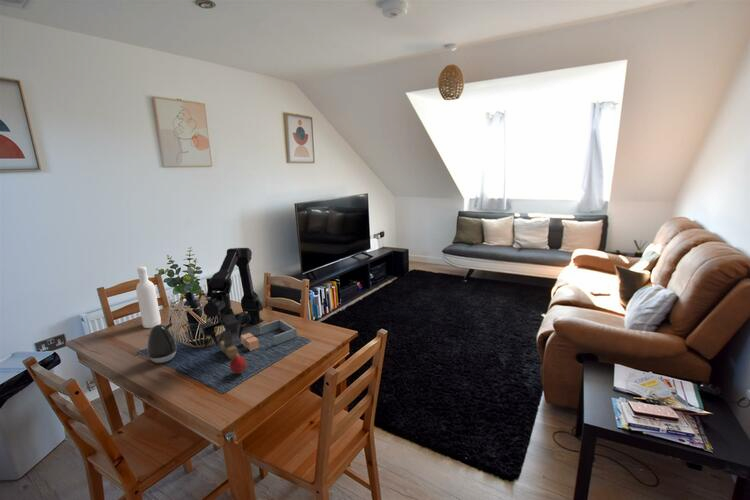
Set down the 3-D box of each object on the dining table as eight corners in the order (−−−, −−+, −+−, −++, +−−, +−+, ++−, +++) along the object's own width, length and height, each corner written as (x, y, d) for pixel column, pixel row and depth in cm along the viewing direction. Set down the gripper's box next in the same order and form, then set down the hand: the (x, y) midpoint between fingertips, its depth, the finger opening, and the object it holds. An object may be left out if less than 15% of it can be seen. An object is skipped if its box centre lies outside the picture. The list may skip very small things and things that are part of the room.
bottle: (139, 328, 174) (127, 269, 167) (149, 321, 181) (138, 265, 174) (155, 328, 174) (144, 269, 167) (164, 321, 181) (154, 264, 174)
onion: (237, 379, 130) (235, 359, 128) (227, 375, 133) (225, 355, 131) (250, 371, 134) (248, 352, 133) (241, 367, 137) (238, 348, 136)
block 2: (246, 348, 152) (245, 339, 151) (255, 344, 155) (254, 336, 154) (250, 351, 149) (249, 342, 149) (259, 348, 152) (258, 339, 151)
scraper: (221, 350, 151) (218, 328, 149) (228, 347, 153) (225, 326, 151) (231, 360, 143) (228, 337, 141) (238, 357, 145) (235, 334, 143)
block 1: (241, 344, 156) (240, 335, 155) (250, 340, 159) (249, 332, 158) (245, 347, 153) (244, 338, 152) (254, 344, 156) (253, 335, 155)
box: (260, 333, 165) (259, 326, 164) (280, 326, 171) (280, 319, 171) (275, 345, 154) (274, 336, 153) (296, 337, 161) (296, 328, 160)
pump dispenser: (183, 358, 145) (177, 324, 142) (155, 369, 138) (148, 333, 134) (173, 350, 152) (167, 317, 148) (145, 360, 144) (138, 326, 141)
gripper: (205, 319, 131) (211, 357, 135) (254, 305, 144) (258, 340, 147) (196, 311, 139) (202, 347, 143) (242, 298, 152) (247, 332, 155)
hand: (228, 341), depth 147 cm, fingers open, 9 cm apart
